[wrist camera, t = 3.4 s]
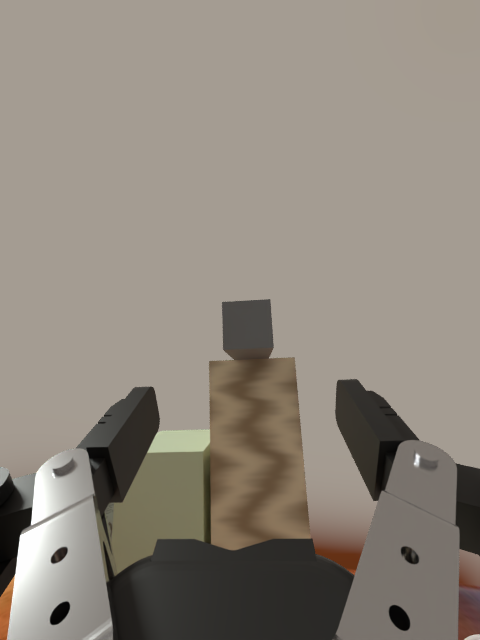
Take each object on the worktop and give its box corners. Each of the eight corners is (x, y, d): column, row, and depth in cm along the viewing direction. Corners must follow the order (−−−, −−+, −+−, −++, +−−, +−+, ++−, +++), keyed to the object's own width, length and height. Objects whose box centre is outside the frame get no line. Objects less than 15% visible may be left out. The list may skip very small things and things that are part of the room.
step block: (100, 705, 24) (117, 453, 30) (156, 590, 38) (161, 430, 43) (204, 709, 24) (203, 451, 29) (223, 590, 37) (220, 429, 43)
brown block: (212, 723, 23) (209, 361, 30) (231, 585, 38) (225, 368, 46) (326, 728, 22) (294, 357, 30) (298, 585, 38) (282, 365, 45)
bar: (223, 349, 21) (222, 302, 21) (242, 367, 46) (241, 345, 47) (273, 347, 20) (270, 299, 21) (265, 366, 46) (263, 343, 46)
